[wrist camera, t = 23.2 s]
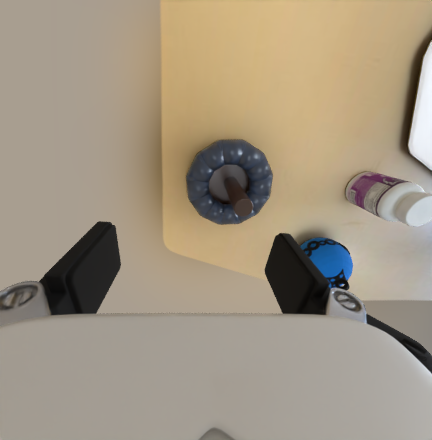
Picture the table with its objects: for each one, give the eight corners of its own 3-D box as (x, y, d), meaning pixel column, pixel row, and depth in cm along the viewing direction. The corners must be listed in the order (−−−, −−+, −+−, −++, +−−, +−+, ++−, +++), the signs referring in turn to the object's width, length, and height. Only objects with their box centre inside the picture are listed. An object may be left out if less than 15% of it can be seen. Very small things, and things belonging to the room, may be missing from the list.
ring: (174, 198, 27) (171, 206, 24) (212, 120, 23) (214, 119, 20) (239, 229, 30) (243, 239, 28) (283, 166, 26) (293, 171, 23)
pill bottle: (384, 175, 29) (460, 196, 21) (363, 205, 31) (424, 236, 23) (356, 166, 28) (425, 184, 20) (337, 198, 30) (391, 226, 22)
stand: (193, 190, 28) (189, 221, 19) (221, 141, 25) (233, 150, 16) (236, 214, 30) (251, 251, 21) (266, 171, 27) (298, 194, 18)
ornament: (323, 219, 32) (370, 255, 23) (336, 251, 36) (381, 293, 27) (278, 243, 34) (306, 285, 25) (295, 272, 37) (325, 317, 28)
